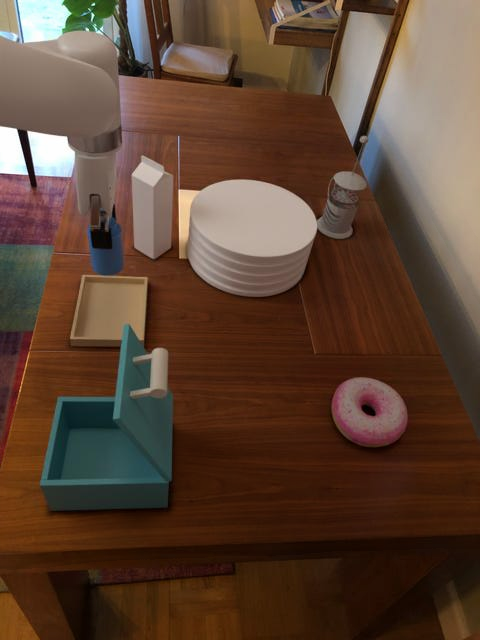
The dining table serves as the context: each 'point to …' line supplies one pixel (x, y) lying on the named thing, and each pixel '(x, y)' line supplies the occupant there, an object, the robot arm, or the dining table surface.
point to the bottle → (108, 251)
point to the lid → (145, 401)
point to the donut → (363, 426)
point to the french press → (342, 203)
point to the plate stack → (250, 237)
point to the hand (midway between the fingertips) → (104, 234)
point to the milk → (152, 208)
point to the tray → (109, 310)
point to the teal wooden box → (96, 461)
